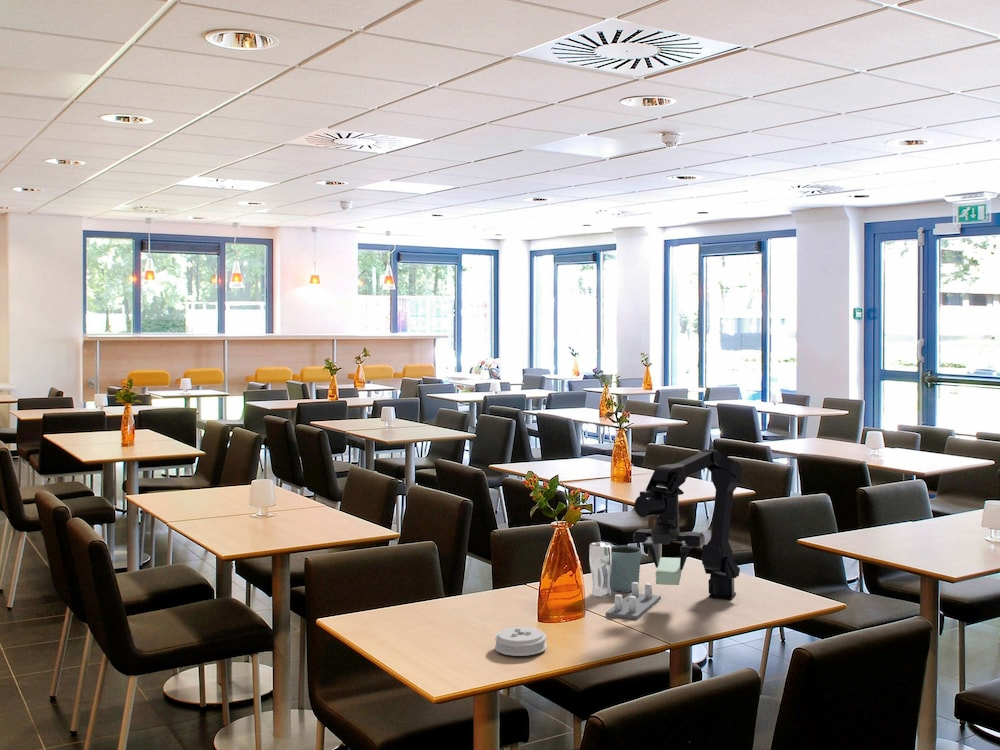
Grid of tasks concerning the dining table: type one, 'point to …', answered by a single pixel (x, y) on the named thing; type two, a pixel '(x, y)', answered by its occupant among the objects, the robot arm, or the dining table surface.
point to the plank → (668, 571)
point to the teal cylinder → (625, 567)
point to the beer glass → (601, 568)
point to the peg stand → (633, 603)
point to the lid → (520, 641)
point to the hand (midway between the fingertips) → (669, 568)
